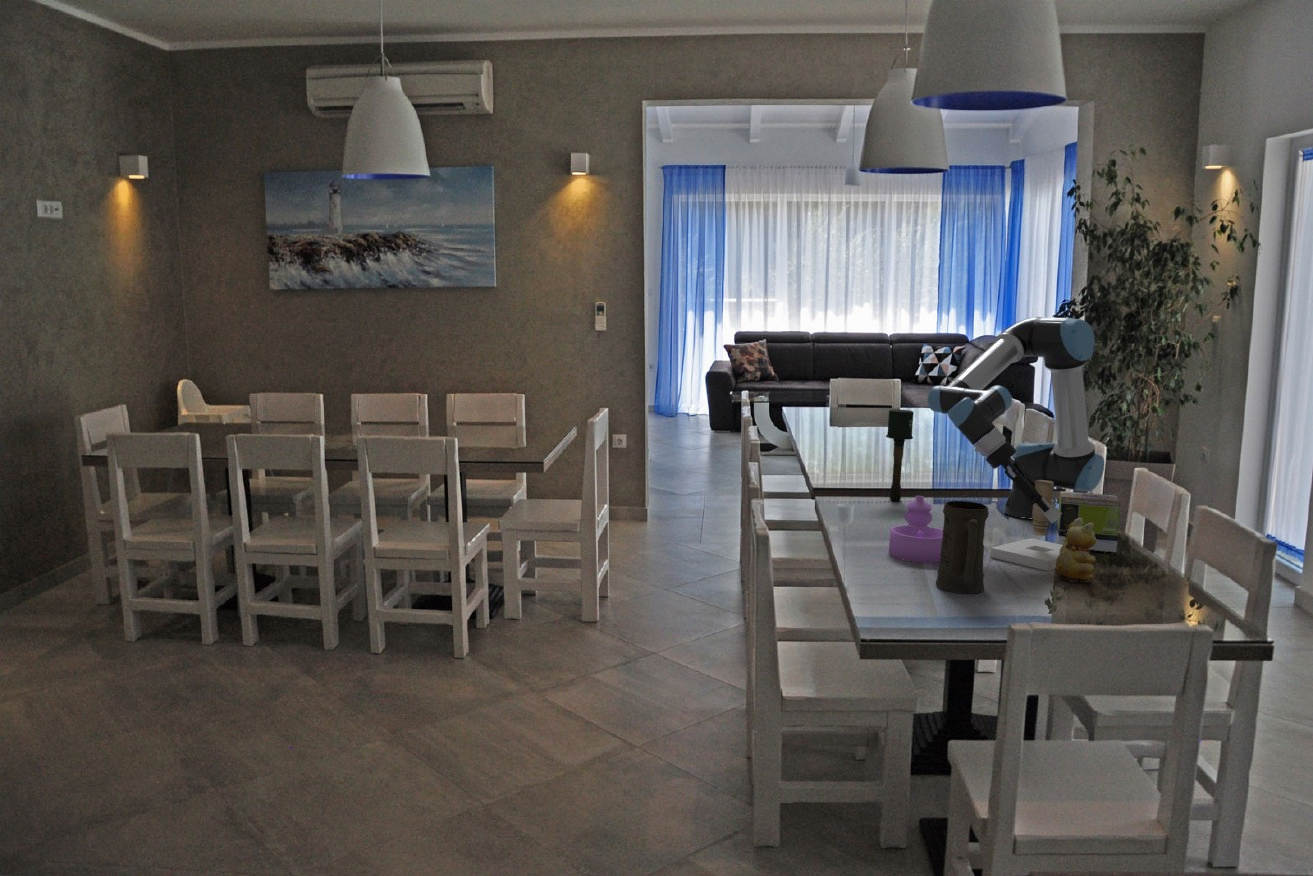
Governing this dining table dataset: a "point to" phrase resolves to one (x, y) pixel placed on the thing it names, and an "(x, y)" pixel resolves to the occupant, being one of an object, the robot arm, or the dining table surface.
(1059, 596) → the dining table surface
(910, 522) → the container set
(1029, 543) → the hole board
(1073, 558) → the decorative figurine
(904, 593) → the dining table surface
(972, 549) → the beer stein
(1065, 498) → the tea box
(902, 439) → the stick grenade
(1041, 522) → the oak peg
